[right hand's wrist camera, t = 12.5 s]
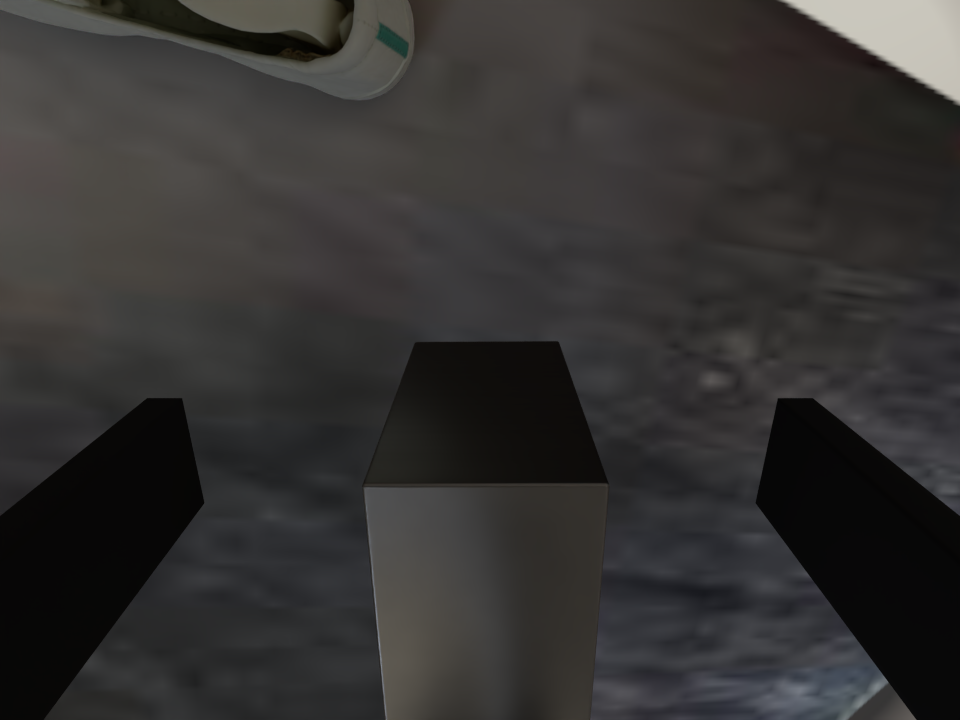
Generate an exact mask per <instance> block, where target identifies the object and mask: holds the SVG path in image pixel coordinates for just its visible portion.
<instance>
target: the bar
mask: <svg viewBox="0 0 960 720" xmlns="http://www.w3.org/2000/svg"><path fill="white" fill-rule="evenodd" d="M362 487H363V498H364V508H365V518H366V529H367V539H368V549H369V560H370V570H371V581H372V591H373V601H374V612H375V622H376V632H377V643H378V653H379V663H380V674H381V684H382V694H383V705H384V715H385V720H590V715H591V702H592V690H593V678H594V666H595V654H596V642H597V630H598V618H599V605H600V593H601V581H602V569H603V557H604V545H605V533H606V521H607V508H608V496H609V483H608V480H607V478H606V475H605V472H604V469H603V466H602V463H601V460H600V458H599V455H598V452H597V449H596V446H595V443H594V441H593V438H592V435H591V432H590V429H589V426H588V424H587V421H586V418H585V415H584V412H583V409H582V407H581V404H580V401H579V398H578V395H577V392H576V390H575V387H574V384H573V381H572V378H571V375H570V372H569V370H568V367H567V364H566V361H565V358H564V355H563V353H562V350H561V347H560V344H559V342H557V341H524V342H415V344H414V347H413V349H412V352H411V355H410V357H409V360H408V363H407V366H406V368H405V371H404V374H403V376H402V379H401V382H400V385H399V387H398V390H397V393H396V396H395V398H394V401H393V404H392V406H391V409H390V412H389V415H388V417H387V420H386V423H385V425H384V428H383V431H382V434H381V436H380V439H379V442H378V445H377V447H376V450H375V453H374V455H373V458H372V461H371V464H370V466H369V469H368V472H367V475H366V477H365V480H364V483H363V485H362Z"/></svg>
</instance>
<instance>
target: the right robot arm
mask: <svg viewBox="0 0 960 720" xmlns="http://www.w3.org/2000/svg"><path fill="white" fill-rule="evenodd" d="M203 504H204V499H203V494H202V490H201V485H200V480H199V476H198V471H197V466H196V462H195V457H194V452H193V447H192V443H191V438H190V433H189V429H188V424H187V419H186V415H185V410H184V405H183V401H182V398H147V399H146V400H144V401H143V402H142V403H141V404H139V405H138V406H137V407H136V408H134V409H133V410H132V411H131V412H130V413H128V414H127V415H126V416H125V417H123V418H122V419H121V420H120V421H118V422H117V423H116V424H115V425H113V426H112V427H111V428H110V429H108V430H107V431H106V432H105V433H103V434H102V435H101V436H100V437H98V438H97V439H96V440H95V441H93V442H92V443H91V444H90V445H88V446H87V447H86V448H85V449H83V450H82V451H81V452H80V453H78V454H77V455H76V456H75V457H73V458H72V459H71V460H70V461H68V462H67V463H66V464H65V465H63V466H62V467H61V468H60V469H58V470H57V471H56V472H55V473H53V474H52V475H51V476H50V477H48V478H47V479H46V480H45V481H43V482H42V483H41V484H40V485H38V486H37V487H36V488H35V489H33V490H32V491H31V492H30V493H28V494H27V495H26V496H25V497H23V498H22V499H21V500H20V501H18V502H17V503H16V504H15V505H13V506H12V507H11V508H10V509H8V510H7V511H6V512H5V513H3V514H2V515H1V516H0V720H44V718H45V717H46V716H47V714H48V713H49V712H50V710H51V709H52V708H53V706H54V705H55V703H56V702H57V701H58V699H59V698H60V697H61V695H62V694H63V693H64V691H65V690H66V689H67V687H68V686H69V685H70V683H71V682H72V681H73V679H74V678H75V677H76V675H77V674H78V673H79V671H80V670H81V668H82V667H83V666H84V664H85V663H86V662H87V660H88V659H89V658H90V656H91V655H92V654H93V652H94V651H95V650H96V648H97V647H98V646H99V644H100V643H101V642H102V640H103V639H104V637H105V636H106V635H107V633H108V632H109V631H110V629H111V628H112V627H113V625H114V624H115V623H116V621H117V620H118V619H119V617H120V616H121V615H122V613H123V612H124V611H125V609H126V608H127V607H128V605H129V604H130V602H131V601H132V600H133V598H134V597H135V596H136V594H137V593H138V592H139V590H140V589H141V588H142V586H143V585H144V584H145V582H146V581H147V580H148V578H149V577H150V576H151V574H152V573H153V571H154V570H155V569H156V567H157V566H158V565H159V563H160V562H161V561H162V559H163V558H164V557H165V555H166V554H167V553H168V551H169V550H170V549H171V547H172V546H173V545H174V543H175V542H176V541H177V539H178V538H179V536H180V535H181V534H182V532H183V531H184V530H185V528H186V527H187V526H188V524H189V523H190V522H191V520H192V519H193V518H194V516H195V515H196V514H197V512H198V511H199V510H200V508H201V507H202V505H203ZM756 504H757V505H758V507H759V508H760V510H761V511H762V512H763V514H764V515H765V516H766V518H767V519H768V520H769V522H770V523H771V524H772V526H773V527H774V528H775V530H776V531H777V532H778V534H779V535H780V536H781V538H782V539H783V541H784V542H785V543H786V545H787V546H788V547H789V549H790V550H791V551H792V553H793V554H794V555H795V557H796V558H797V559H798V561H799V562H800V563H801V565H802V566H803V567H804V569H805V570H806V571H807V573H808V574H809V576H810V577H811V578H812V580H813V581H814V582H815V584H816V585H817V586H818V588H819V589H820V590H821V592H822V593H823V594H824V596H825V597H826V598H827V600H828V601H829V602H830V604H831V605H832V607H833V608H834V609H835V611H836V612H837V613H838V615H839V616H840V617H841V619H842V620H843V621H844V623H845V624H846V625H847V627H848V628H849V629H850V631H851V632H852V633H853V635H854V636H855V637H856V639H857V640H858V642H859V643H860V644H861V646H862V647H863V648H864V650H865V651H866V652H867V654H868V655H869V656H870V658H871V659H872V660H873V662H874V663H875V664H876V666H877V667H878V668H879V670H880V671H881V673H882V674H883V675H884V677H885V678H886V679H887V681H888V682H889V683H890V685H891V686H892V687H893V689H894V690H895V691H896V693H897V694H898V695H899V697H900V698H901V699H902V701H903V702H904V703H905V705H906V706H907V708H908V709H909V710H910V712H911V713H912V714H913V716H914V717H915V718H916V720H960V516H959V515H958V514H957V513H955V512H954V511H953V510H952V509H950V508H949V507H948V506H947V505H945V504H944V503H943V502H942V501H940V500H939V499H938V498H937V497H935V496H934V495H933V494H932V493H930V492H929V491H928V490H927V489H925V488H924V487H923V486H922V485H920V484H919V483H918V482H917V481H915V480H914V479H913V478H912V477H910V476H909V475H908V474H907V473H905V472H904V471H903V470H902V469H900V468H899V467H898V466H897V465H895V464H894V463H893V462H892V461H890V460H889V459H888V458H887V457H885V456H884V455H883V454H882V453H880V452H879V451H878V450H877V449H875V448H874V447H873V446H872V445H870V444H869V443H868V442H867V441H865V440H864V439H863V438H862V437H860V436H859V435H858V434H857V433H855V432H854V431H853V430H852V429H850V428H849V427H848V426H847V425H845V424H844V423H843V422H842V421H840V420H839V419H838V418H837V417H835V416H834V415H833V414H832V413H830V412H829V411H828V410H827V409H825V408H824V407H823V406H822V405H821V404H819V403H818V402H817V401H816V400H814V399H813V398H778V401H777V405H776V410H775V415H774V419H773V424H772V429H771V433H770V438H769V443H768V447H767V452H766V457H765V462H764V466H763V471H762V476H761V480H760V485H759V490H758V494H757V499H756Z"/></svg>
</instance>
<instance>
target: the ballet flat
mask: <svg viewBox="0 0 960 720" xmlns="http://www.w3.org/2000/svg"><path fill="white" fill-rule="evenodd" d="M0 10H2V11H5V12H8V13H11V14H14V15H18V16H21V17H24V18H28V19H31V20H34V21H38V22H41V23H45V24H49V25H54V26H58V27H63V28H68V29H73V30H78V31H83V32H89V33H95V34H101V35H109V36H135V35H140V36H144V37H149V38H154V39H162V40H170V41H173V42H176V43H179V44H182V45H185V46H188V47H192V48H195V49H199V50H203V51H206V52H210V53H214V54H218V55H221V56H223V57H225V58H228V59H230V60H233V61H235V62H238V63H240V64H243V65H245V66H248V67H250V68H252V69H255V70H257V71H260V72H262V73H265V74H268V75H271V76H274V77H277V78H280V79H283V80H287V81H292V82H296V83H301V84H305V85H308V86H311V87H313V88H315V89H318V90H320V91H322V92H324V93H327V94H329V95H332V96H336V97H339V98H342V99H346V100H369V99H372V98H376V97H379V96H381V95H383V94H385V93H386V92H388V91H389V90H391V89H392V88H393V87H394V86H395V85H396V84H397V83H398V82H399V81H400V79H401V78H402V77H403V75H404V74H405V72H406V70H407V68H408V66H409V64H410V62H411V60H412V56H413V50H414V39H415V37H414V21H413V15H412V11H411V7H410V4H409V1H408V0H0Z"/></svg>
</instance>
